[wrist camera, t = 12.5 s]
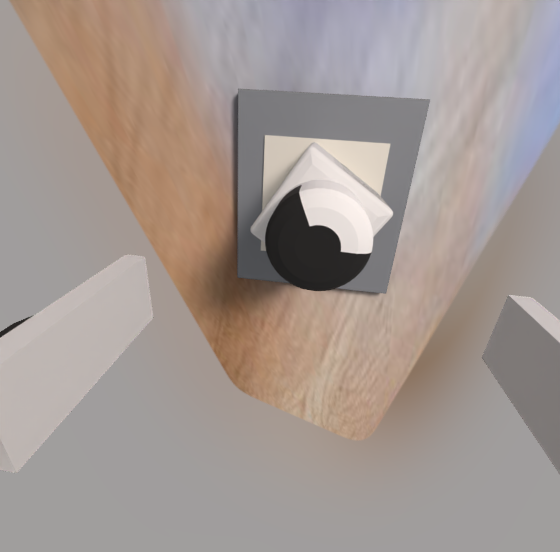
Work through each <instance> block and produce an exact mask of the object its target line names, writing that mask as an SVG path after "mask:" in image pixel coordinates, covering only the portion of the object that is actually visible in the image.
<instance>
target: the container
mask: <svg viewBox="0 0 560 552" xmlns="http://www.w3.org/2000/svg"><path fill="white" fill-rule="evenodd" d="M392 216H393V211H392V210H391V208H390V207H389V206H388V205H387V204H386V202H385V201H384V200H383V199H382V198H381V196H380V195H379V194H378V193H377V192H376V191H375V190H374V189H373V188H371V187H370V186H369V185H368V184H366V183H365V182H364V181H363V180H362V179H360V178H359V177H358V176H357V175H355V174H354V173H353V172H352V171H351V170H349V169H348V168H347V167H346V166H344V165H343V164H342V163H341V162H339V161H338V160H337V159H336V158H335V157H333V156H332V155H331V154H330V153H328V152H327V151H326V150H325V149H324V148H322V147H321V146H320V145H319V144H317V143H315V142H313V143H311V144H310V145H309V147H308V148H307V149H306V150H305V152H304V153H303V155H302V156H301V157H300V159H299V160H298V162H297V163H296V164H295V166H294V167H293V169H292V170H291V171H290V173H289V174H288V176H287V177H286V178H285V180H284V181H283V183H282V184H281V185H280V187H279V188H278V190H277V191H276V192H275V194H274V195H273V197H272V198H271V200H270V201H269V202H268V204H267V205H266V207H265V208H264V209H263V211H262V212H261V214H260V215H259V216H258V218H257V219H256V221H255V222H254V223H253V225H252V226H251V229H250V230H251V233H252V234H253V235H255V236H256V237H257V238H259V239H260V240H261V241H263V242H264V243H265V247H266V252H267V255H268V258H269V260H270V262H271V264H272V266H273V267H274V269H275V270H276V271H277V273H278V274H279V275H280V276H281V277H282V278H284V279H285V280H286V281H288V282H289V283H291V284H293V285H295V286H297V287H300V288H302V289H307V290H313V291H325V290H331V289H335V288H338V287H340V286H343V285H345V284H347V283H348V282H350V281H351V280H353V279H354V278H355V277H356V276H357V275H358V274H359V273H360V272H361V271H362V270H363V268H364V267H365V266H366V264H367V262H368V260H369V258H370V255H371V252H372V247H373V237H374V236H375V235H376V234H377V232H378V231H379V230H380V229H381V228H382V227H383V226H384V225H385V224H386V223H387V222H388V221H389V220H390V219H391V217H392Z"/></svg>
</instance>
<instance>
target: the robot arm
mask: <svg viewBox="0 0 560 552" xmlns="http://www.w3.org/2000/svg"><path fill="white" fill-rule="evenodd" d="M152 319H153V312H152V305H151V297H150V289H149V282H148V275H147V267H146V260H145V257H144V256H135V255H125V256H123V257H122V258H120V259H118V260H117V261H115V262H114V263H112V264H111V265H109V266H108V267H106V268H105V269H104V270H102V271H100V272H99V273H97V274H96V275H94V276H93V277H91V278H90V279H88V280H87V281H85V282H84V283H82V284H81V285H79V286H78V287H76V288H75V289H73V290H72V291H70V292H69V293H67V294H66V295H64V296H63V297H61V298H60V299H58V300H57V301H55V302H54V303H52V304H51V305H49V306H48V307H46V308H44V309H43V310H42V311H40V312H39V313H37V314H35V315H33V316H31V317H28V318H26V319H23V320H21V321H19V322H16V323H14V324H12V325H10V326H9V327H7V328H6V329H4V330H3V331H1V332H0V470H2V471H8V472H14V473H17V472H18V471H19V470H20V469H21V468H22V466H23V465H24V464H25V463H26V462H27V461H28V460H29V458H30V457H31V456H32V455H33V454H34V453H35V452H36V450H37V449H38V448H39V447H40V446H41V445H42V444H43V443H44V441H45V440H46V439H47V438H48V437H49V436H50V434H51V433H52V432H53V431H54V430H55V429H56V428H57V427H58V425H59V424H60V423H61V422H62V421H63V420H64V419H65V417H66V416H67V415H68V414H69V413H70V412H71V411H72V409H73V408H74V407H75V406H76V405H77V404H78V403H79V402H80V400H81V399H82V398H83V397H84V396H85V395H86V394H87V392H88V391H89V390H90V389H91V388H92V387H93V386H94V384H95V383H96V382H97V381H98V380H99V378H101V377H102V375H103V374H104V373H105V372H106V371H107V370H108V369H109V367H110V366H111V365H112V364H113V363H114V362H115V361H116V359H117V358H118V357H119V356H120V355H121V354H122V352H124V350H125V349H126V348H127V347H128V346H129V345H130V344H131V342H132V341H133V340H134V339H135V338H136V337H137V336H138V334H139V333H140V332H141V331H142V330H143V329H144V328H145V326H146V325H147V324H148V323H149V322H150V321H151V320H152ZM482 359H483V360H484V362H485V363H486V365H487V366H488V368H489V369H490V371H491V372H492V374H493V375H494V377H495V378H496V380H497V381H498V383H499V384H500V386H501V387H502V389H503V390H504V392H505V393H506V395H507V396H508V398H509V399H510V401H511V402H512V404H513V405H514V407H515V408H516V410H517V411H518V413H519V414H520V416H521V417H522V419H523V420H524V422H525V423H526V425H527V426H528V428H529V429H530V430H531V432H532V434H533V435H534V436H535V438H536V440H537V441H538V443H539V444H540V445H541V447H542V448H543V450H544V451H545V453H546V454H547V456H548V457H549V459H550V460H551V462H552V463H553V465H554V466H555V468H556V469H557V471H558V472H559V474H560V321H559V320H558V319H557V318H556V317H555V316H553V315H552V314H551V313H550V312H549V311H547V310H546V309H545V308H544V307H543V306H541V305H540V304H539V303H538V302H537V301H535V300H534V299H533V298H532V297H522V296H514V295H508V297H507V300H506V302H505V304H504V307H503V309H502V311H501V314H500V316H499V319H498V321H497V323H496V325H495V328H494V330H493V333H492V335H491V337H490V340H489V342H488V344H487V347H486V349H485V351H484V354H483V356H482Z"/></svg>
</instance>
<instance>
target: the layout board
mask: <svg viewBox="0 0 560 552" xmlns="http://www.w3.org/2000/svg"><path fill="white" fill-rule="evenodd" d="M429 102H430V100H429V99H411V98H394V97H376V96H358V95H341V94H323V93H305V92H287V91H270V90H252V89H238V278H247V279H256V280H266V281H275V282H284V283H289V282H288V281H286V280H285V279H284V278H282V277H281V276H280V275H279V274H278V273H277V271H276V270H275V269H274V267H273V266H272V264H271V262H270V260H269V258H268V255H267V252H266V247H265V243H264V242H263V241H261V240H260V239H259V238H257V237H256V236H255V235H253V234H252V233H251V230H250V229H251V226H252V225H253V223H254V222H255V221H256V219H257V218H258V216H259V215H260V214H261V212H262V211H263V209H264V208H265V207H266V205H267V204H268V202H269V201H270V200H271V198H272V197H273V195H274V194H275V192H276V191H277V190H278V188H279V187H280V185H281V184H282V183H283V181H284V180H285V178H286V177H287V176H288V174H289V173H290V171H291V170H292V169H293V167H294V166H295V164H296V163H297V162H298V160H299V159H300V157H301V156H302V155H303V153H304V152H305V150H306V149H307V148H308V147H309V145H310V144H311V143H313V142H315V143H317V144H319V145H320V146H321V147H322V148H324V149H325V150H326V151H327V152H328V153H330V154H331V155H332V156H333V157H335V158H336V159H337V160H338V161H339V162H341V163H342V164H343V165H344V166H346V167H347V168H348V169H349V170H351V171H352V172H353V173H354V174H355V175H357V176H358V177H359V178H360V179H362V180H363V181H364V182H365V183H366V184H368V185H369V186H370V187H371V188H373V189H374V190H375V191H376V192H377V193H378V194H379V195H380V196H381V198H382V199H383V200H384V201H385V202H386V204H387V205H388V206H389V207H390V208H391V210H392V211H393V216H392V217H391V219H390V220H389V221H388V222H387V223H386V224H385V225H384V226H383V227H382V228H381V229H380V230H379V231H378V232H377V234H376V235H375V236H374V237H373V247H372V252H371V255H370V258H369V260H368V262H367V264H366V266H365V267H364V268H363V270H362V271H361V272H360V273H359V274H358V275H357V276H356V277H355V278H354V279H353V280H351V281H350V282H348V283H347V284H345V285H343V286H340V287H338V288H339V289H348V290H357V291H367V292H376V293H385V294H386V291H387V287H388V283H389V278H390V274H391V269H392V265H393V261H394V256H395V252H396V247H397V243H398V239H399V234H400V230H401V225H402V221H403V217H404V212H405V208H406V204H407V199H408V195H409V190H410V186H411V182H412V177H413V173H414V168H415V164H416V160H417V155H418V151H419V146H420V142H421V138H422V133H423V129H424V124H425V120H426V116H427V111H428V107H429Z"/></svg>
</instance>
